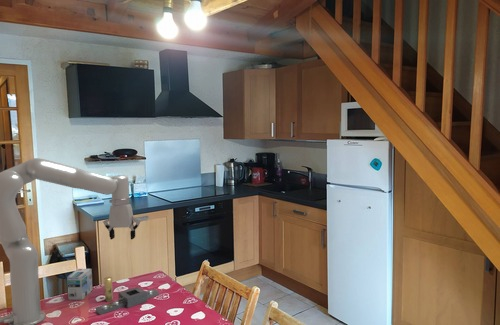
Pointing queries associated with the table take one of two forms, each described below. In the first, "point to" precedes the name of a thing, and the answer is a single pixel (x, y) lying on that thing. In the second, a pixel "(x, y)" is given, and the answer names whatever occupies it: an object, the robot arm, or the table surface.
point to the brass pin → (108, 289)
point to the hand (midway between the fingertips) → (122, 238)
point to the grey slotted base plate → (128, 299)
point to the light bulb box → (79, 284)
